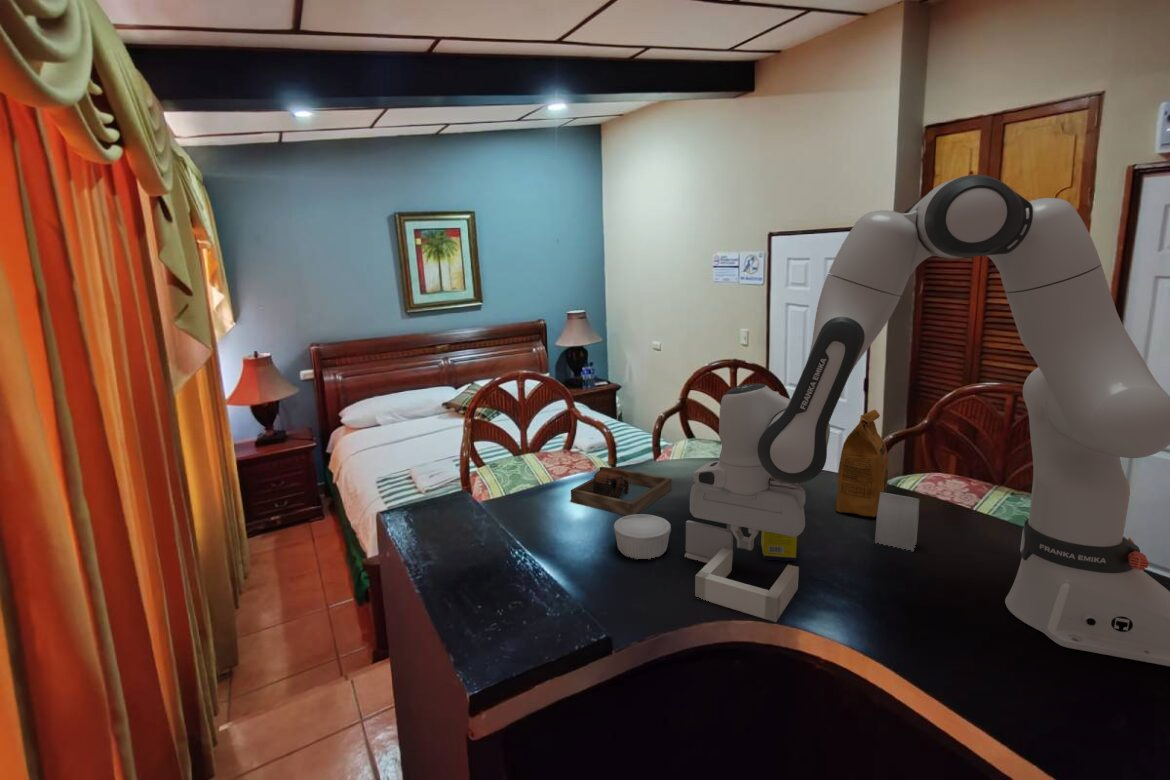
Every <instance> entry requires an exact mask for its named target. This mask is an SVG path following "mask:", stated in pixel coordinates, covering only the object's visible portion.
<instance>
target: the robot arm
mask: <svg viewBox="0 0 1170 780" xmlns="http://www.w3.org/2000/svg"><path fill="white" fill-rule="evenodd" d="M985 256H986V257H988V259H990V260H991V262H993V264H994V265H995V267H996V269H997V271H998V272H999V274H1000V280H1001V283H1002V286H1003V289H1004V293H1005V295H1006V296H1005V297H1006V299H1007V302H1008V304H1009V308H1010V310H1011V315H1012V318H1013V320H1014V323H1015V326H1016V329H1017V333H1018V335H1019V339H1020V340H1021V343H1022V344H1023V346H1024V347H1025V349H1026V350H1027V351H1028V352H1029V354H1030V355H1031V357H1032V359H1033V360H1034V362H1035V363H1036V365H1037V368H1035V369H1034V370H1032V371H1031V372H1030V374H1029V375H1027V377H1026V379H1025V381H1024V384H1023V387H1022V398H1023V401H1024V403H1025V406H1026V410H1027V414H1028V421H1029V422H1028V423H1029V434H1030V435H1029V436H1030V445H1031V454H1032V455H1031V456H1032V465H1033V466H1032V467H1033V470H1032V471H1033V477H1032V486H1031V496H1030V505H1029V511H1028V512H1029V513H1028V518H1027V519H1026V520H1025V521H1024V525H1023V528H1022V533H1021V539H1020V540H1021V541H1020V555H1021V560H1020V562H1019V563H1020V564H1019V567H1018V570H1017V573H1016V576H1015V579H1014V582H1013V584H1012V586H1011V588H1010V590H1009V592H1008V594H1007V595H1006V597H1005V600H1004V603H1005V605H1006V608H1007V610H1008V611H1009V612H1010V613H1011V614H1012V615H1014V617H1015V618H1017V619H1019V620H1020V621H1022V622H1023V623H1024V624H1027V625H1028V626H1030V627H1032V628H1034V629H1035V630H1038V631H1040V632H1042V633H1043V634H1045V636H1046V637H1048V638H1049V639H1050V640H1052V641H1053V642H1054V643H1056V644H1057V645H1059V646H1061V647H1064V648H1068V649H1072V650H1073V649H1074V650H1079V651H1085V652H1090V653H1096V654H1100V655H1107V656H1110V657H1117V658H1121V659H1129V660H1133V661H1139V662H1143V663H1144V662H1145V663H1151V664H1155V665H1160V666H1165V667H1170V590H1168V588H1166V587H1165V586H1163V585H1162V584H1160V583H1159V582H1158V581H1157V580H1156V579H1154V578H1153V577H1152V576H1150V575H1149V574H1148V573H1147V572H1145V571H1144V570H1146V569H1148V568H1149V567H1150V564H1149V563H1150V562H1149V561H1148V558H1147V555H1145V554H1144V553H1142V552H1141V549H1140V547H1139V546H1138V545H1137V544H1135V542H1134V541H1133V539H1132V538H1131V537H1128V538H1126V537H1125V536H1124V533H1125V528H1126V519H1127V515H1128V509H1129V502H1130V496H1131V488H1130V483H1129V481H1128V478H1127V477H1126V474H1125V472H1124V469H1123V465H1122V462H1121V458H1125V459H1140V458H1141V459H1142V458H1147V457H1150V456H1153V455H1156V454H1157V453H1160V452H1161V451H1163V450H1164V449H1166V448H1167V447H1169V446H1170V395H1169V394H1168V392H1166V391H1165V390H1164V388H1163V387H1162V386H1161V385H1160V384H1159V382H1158V381H1157V380H1156V378H1155V377H1154V376H1153V374H1152V372H1151V371H1150V369H1149V367H1148V365H1147V363H1146V362H1145V360H1144V358H1143V357H1142V355H1141V354H1140V351H1139V349H1138V348H1137V346H1136V345H1135V343H1134V342H1133V340H1132V338H1131V336H1130V335H1129V333H1128V332H1127V330H1126V329H1125V326H1124V325H1123V323H1122V321H1121V318H1120V316H1119V313H1118V311H1117V308H1116V305H1115V302H1114V299H1113V297H1112V293H1111V291H1110V287H1109V284H1108V279H1107V276H1106V274H1105V272H1104V268H1103V265H1102V262H1101V259H1100V256H1099V253H1098V250H1097V247H1096V245H1095V243H1094V240H1093V238H1092V236H1091V234H1090V232H1089V230H1088V227H1086V224H1085V223H1084V221H1083V219H1082V216H1080V214H1079V213H1078V211H1077V209H1076V208H1075V207H1074V205H1073V204H1072V203H1070V202H1069V201H1067V200H1065V199H1063V198H1057V197H1043V198H1036V199H1031V200H1027V199H1026V198H1025V197H1023V196H1022V195H1020V194H1019V193H1018V192H1016V190H1014V189H1012V188H1011V187H1010V186H1009V185H1007V184H1006V183H1005V182H1003V181H1001V180H1000V179H997V178H995V177H993V176H989V175H984V174H970V175H969V174H968V175H965V176H961V177H957V178H953V179H950V180H947V181H945V182H943V183H941V184H938V185H937V186H935V187H934V188H933V189H931V190H930V191H929V192H928V193H926V194H925V195H924V196H922V197H921V198H919V199H918V201H916V202H915V203H914V204H913V205H911V206H910V207H909V208H907V209H906V210H905V211H904V212H902V213H901V212H897V211H894V210H883V209H882V210H881V209H880V210H873V211H870V212H868V213H866V214H863V215H862V216H861V217H859V219H858V220H857V221H856V222H855V224H854V225H853V227H852V228H851V229H850V231H849V233H848V234H847V236H846V237H845V239H844V241H843V243H842V244H841V246H840V247H839V250H838V252H837V254H836V256H835V257H834V260H833V261H832V264H831V266H830V269H829V271H828V273H827V276H826V278H825V281H824V283H823V285H822V288H821V291H820V296H819V299H818V303H817V307H816V313H815V318H814V325H813V332H812V333H813V334H812V339H811V340H812V341H811V345H810V349H809V350H810V351H809V353H808V357H807V359H806V363H805V366H804V368H803V370H802V373H801V375H800V378H799V380H798V382H797V384H796V386H795V389H794V390H793V394H792V396H791V397H790V398H787V397H785V396H783V395H781V394H779V393H777V392H775V391H774V390H772V389H771V388H770V387H769V386H768V385H766V384H764V383H757V382H755V383H745V384H741V385H737V386H734V387H731V389H728V390H727V391H726V392H724V394H723V395H722V397H721V401H720V406H719V407H720V408H719V417H718V418H719V421H718V436H719V439H720V444H721V448H720V453H719V457H718V458H719V460H715V461H709V462H707V463H705V464H703V465H702V466H700V467H699V468H697V470H695V471H694V473H692V474H693V476H692V477H693V478H692V479H693V481H694V482H695V483H694V484H692V486H691V489H690V492H689V493H690V494H689V512H690V513H691V515H692V516H693V517H694V518H696V519H701V520H704V521H705V520H706V521H710V522H711V521H712V522H715V523H720V524H726V525H727V524H731V531H732V533H733V537H734V539H736V548H738V549H742V550H747V551H752V550H753V549H754V545H755V543H754V541H755V539H756V537H757V536H758V534H759V533H760V531H761V532H762V531H766V532H771V533H776V534H781V535H786V536H791V537H797V538H798V537H799V535H801V534H802V533H803V532H804V530H805V527H806V516H805V515H806V514H805V508H804V507H805V505H806V502H807V501H806V499H807V498H806V495H807V494H806V491H805V489H804V488H803V487H802V486H801V485H800V486H799V485H797V483H800V484H802V483H805V482H809V481H811V480H813V479H815V478H816V477H817V476H818V475H819V474H820V473H821V472H822V471H823V469H824V467H825V466H826V463H827V457H828V453H827V452H828V445H829V442H830V441H829V440H830V434H831V427H830V421H831V418H832V416H833V413H834V411H835V409H836V407H837V406H838V402H839V400H840V398H841V395H842V393H843V390H844V389H845V386H846V385H847V382H848V380H849V378H850V376H851V373H852V372H853V370H854V368H855V366H857V364H858V362H860V360H861V358H862V357H863V355H864V354H865V353H866V352H867V350H868V349H869V347H870V346H871V345H872V344H873V343H874V341H875V340H876V338H877V337H878V336H879V335H880V333H881V332H882V330H883V329H884V327H885V326H886V325H887V323H888V321H889V320H890V318H891V317H892V315H893V313H894V311H895V309H896V308H897V305H898V303H899V301H900V299H901V296H902V295H903V294H904V291H905V288H906V286H907V283H908V281H909V279H910V276H911V275H912V274H913V272H914V271H915V270H916V268H917V267H918V266H919V265H920V264H921V263H922V262H923V261H925V260H926V259H928V258H930V257H936V258H944V259H949V260H950V259H951V260H952V259H953V260H954V259H955V260H956V259H963V258H977V257H985ZM771 475H772V476H773V477H775V478H776V479H778V480H776V479H771ZM797 488H799V489H797ZM742 527H743V528H747V530H748V534H750V536H749V537H748V536H744V534H743V532H742Z"/></svg>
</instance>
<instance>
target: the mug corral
mask: <svg viewBox="0 0 1170 780" xmlns="http://www.w3.org/2000/svg"><path fill="white" fill-rule="evenodd" d="M612 468H613V469H617V470H620V471H622V472H624V473H626V474H628V475H629V476H628V481H629V482H628V484H630V485H631V484H632V485H636V486H642V487H646V488H651V489H649V490H647V491H646V492H644V493H643V494H641V495H639V496H638V497H636V498H635V499H633V500H631V501H629V500H624V499H620V498H617V499H616V498H612V497H611V496H609V497H607V496H603V495H599V494H594V493H590V490H591V489H593V488H594V481H595V480H594V477H593V478H590V479H589V480H587V481H584V482H583V483H581V484H579V485H577V486H576V487H574V488H572V489H570V502H571V503H575V504H578V505H582V506H586V507H591V508H595V509H599V510H603V511H607V512H612V513H615V514H620V515H624V516H628V515H635V514H639V513H641V512H642V511H643V510H645V509H646V508H648V507H650V506H651V505H652V504H654V503H655V502H657V501H658V500H659V499H661V498H663V497H664V496H665V495H667V494H668V493H670V492H671V491H672V485H673V484H672V478H669V477H664V476H659V475H653V474H649V473H644V472H640V471H639V472H638V471H633V470H628V469H622V468H619V467H618V468H617V467H612ZM610 483H611V480H608V484H610Z"/></svg>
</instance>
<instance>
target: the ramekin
mask: <svg viewBox="0 0 1170 780" xmlns="http://www.w3.org/2000/svg"><path fill="white" fill-rule="evenodd" d="M671 527H672V526H671V523H670V522H669V521H668V520H667V519H666V518H663V517H661V516H657V515H653V514H643V513H640V514H639V513H638V514H635V515H628V516H627V515H624V516H622V517H619V518H618V519H617V520H616V521H615V522H614V524H613V531H614V534H615V539H616V543H617V544H616V546H617V549H618V551H620V553H621V554H622V555H624V556H625V557H628V558H629V557H630V558H629V559H633V558H634V560H638V559H648V560H652V559H651V558H654V559H656V558H655V557H657V558H660V557H661V556H662V555H663V554H664V553H665V552H666V551H667V549H668V543H669V538H670V534H671V531H672V528H671Z"/></svg>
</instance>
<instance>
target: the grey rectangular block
mask: <svg viewBox="0 0 1170 780" xmlns="http://www.w3.org/2000/svg"><path fill="white" fill-rule="evenodd" d="M919 517H920V498H916V497H911V496H906V495H900V494H893V493H889V492H888V493H887V492H886V493H883V492H880V498H879V505H878V511H877V515H876V523H875V535H874V544H877V543H879V544H878V545H881V544H883V545H882V546H886V545H888V546H887V547H890V546H893V547H892V548H895V547H897V548H896V549H899V548H901V549H900V550H904V549H906V550H905V551H908V550H911V551H910V552H914V551H915V549H916V546H917V543H918V542H917V540H918V539H917V538H918V530H919V529H918V528H919ZM915 545H916V546H915ZM914 548H915V549H914Z"/></svg>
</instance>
